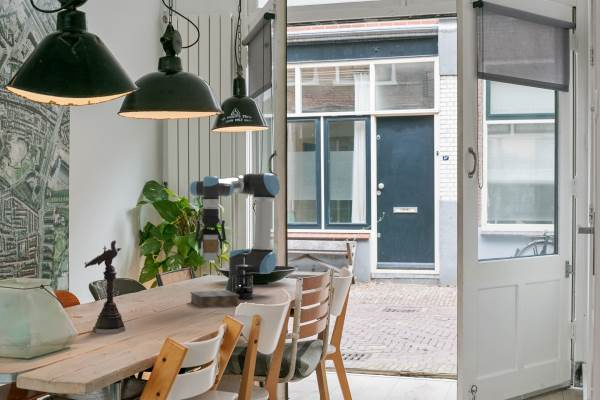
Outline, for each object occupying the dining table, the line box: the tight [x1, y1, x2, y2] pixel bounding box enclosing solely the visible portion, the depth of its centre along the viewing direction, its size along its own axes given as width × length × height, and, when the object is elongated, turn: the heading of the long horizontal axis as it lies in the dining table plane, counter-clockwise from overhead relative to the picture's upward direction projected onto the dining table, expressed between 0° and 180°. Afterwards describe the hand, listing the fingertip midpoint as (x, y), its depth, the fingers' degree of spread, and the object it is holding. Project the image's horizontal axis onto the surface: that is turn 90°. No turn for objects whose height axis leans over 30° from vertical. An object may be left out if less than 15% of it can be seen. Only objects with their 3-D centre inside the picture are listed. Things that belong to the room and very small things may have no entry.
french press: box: [231, 253, 254, 301], centre depth 368 cm, size 12×9×23 cm
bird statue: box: [84, 240, 126, 335], centre depth 275 cm, size 17×13×35 cm
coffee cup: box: [201, 228, 220, 262], centre depth 350 cm, size 8×8×15 cm
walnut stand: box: [189, 289, 240, 308], centre depth 349 cm, size 19×19×5 cm
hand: (210, 255), depth 350 cm, fingers closed on coffee cup, 8 cm apart
